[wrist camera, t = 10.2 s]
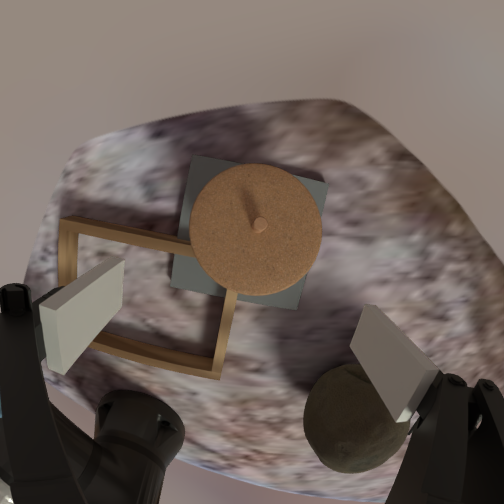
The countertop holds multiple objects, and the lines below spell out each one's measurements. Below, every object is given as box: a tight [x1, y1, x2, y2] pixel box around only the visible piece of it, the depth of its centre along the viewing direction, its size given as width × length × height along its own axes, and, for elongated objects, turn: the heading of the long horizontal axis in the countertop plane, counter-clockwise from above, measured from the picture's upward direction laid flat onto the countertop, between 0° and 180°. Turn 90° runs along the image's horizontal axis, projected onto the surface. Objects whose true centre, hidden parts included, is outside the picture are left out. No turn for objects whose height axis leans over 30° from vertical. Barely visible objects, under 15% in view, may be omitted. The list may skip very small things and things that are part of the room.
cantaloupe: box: [303, 364, 410, 474], centre depth 31 cm, size 14×14×15 cm
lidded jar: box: [189, 163, 322, 296], centre depth 26 cm, size 11×11×9 cm
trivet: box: [170, 155, 329, 310], centre depth 32 cm, size 15×15×1 cm
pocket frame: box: [58, 215, 238, 380], centre depth 33 cm, size 16×22×3 cm
